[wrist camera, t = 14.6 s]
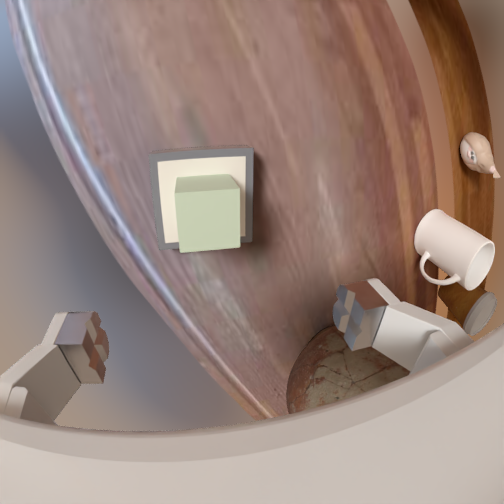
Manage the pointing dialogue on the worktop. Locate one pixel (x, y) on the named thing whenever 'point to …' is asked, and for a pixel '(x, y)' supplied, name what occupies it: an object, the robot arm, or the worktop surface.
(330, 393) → the jug
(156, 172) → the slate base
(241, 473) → the robot arm
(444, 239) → the mug
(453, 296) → the disposable coffee cup
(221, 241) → the green block
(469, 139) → the garlic bulb
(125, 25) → the worktop surface
